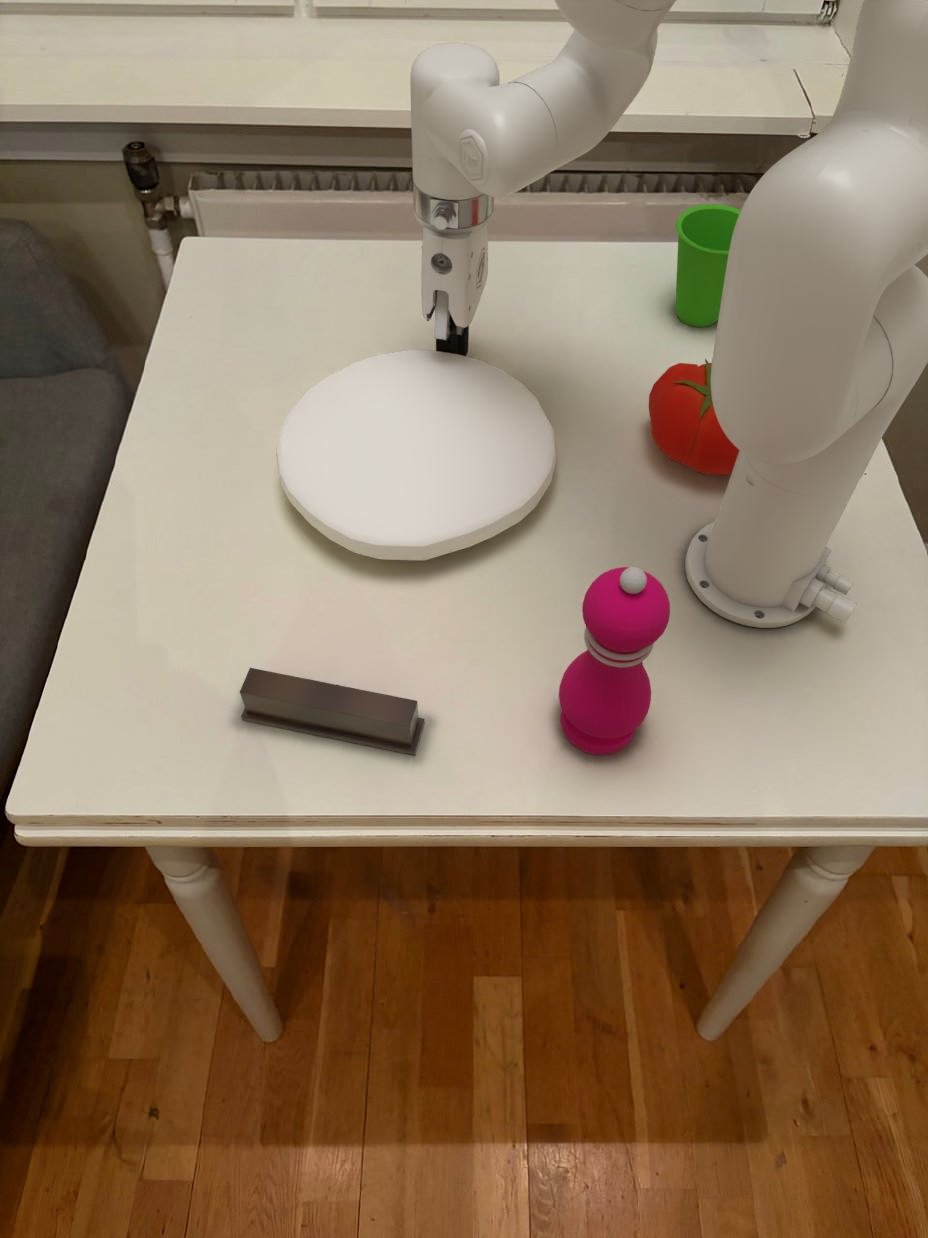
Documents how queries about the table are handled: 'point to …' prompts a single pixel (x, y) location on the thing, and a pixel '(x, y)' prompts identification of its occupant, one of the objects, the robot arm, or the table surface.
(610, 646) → the pepper mill
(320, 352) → the table surface
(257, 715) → the rail
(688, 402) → the tomato
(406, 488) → the plate
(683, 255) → the cup
